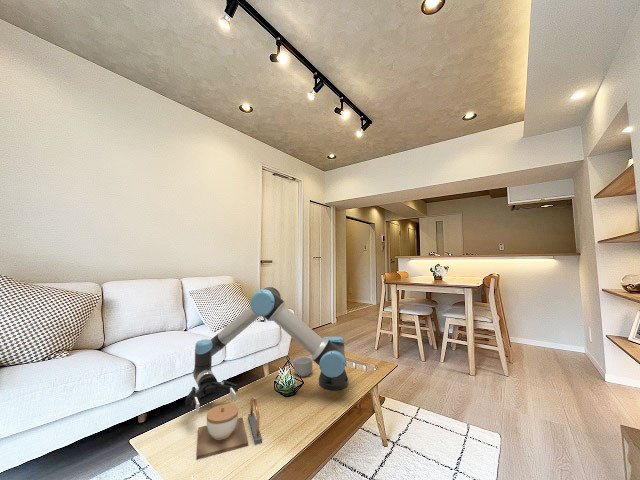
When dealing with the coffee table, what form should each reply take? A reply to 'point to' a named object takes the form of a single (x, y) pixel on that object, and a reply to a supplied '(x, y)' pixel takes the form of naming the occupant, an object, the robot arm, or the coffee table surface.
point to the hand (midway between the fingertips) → (217, 402)
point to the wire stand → (254, 428)
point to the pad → (221, 441)
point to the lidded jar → (222, 421)
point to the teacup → (302, 366)
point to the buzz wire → (256, 413)
